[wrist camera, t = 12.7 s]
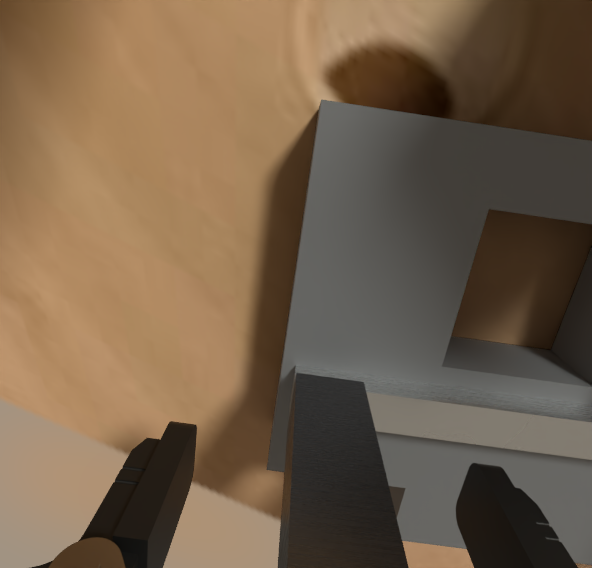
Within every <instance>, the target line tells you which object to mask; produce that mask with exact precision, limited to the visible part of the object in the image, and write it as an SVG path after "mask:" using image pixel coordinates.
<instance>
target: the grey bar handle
mask: <svg viewBox="0 0 592 568" xmlns="http://www.w3.org/2000/svg"><path fill="white" fill-rule="evenodd" d="M376 431H378V432H386V433H393V434H401V435H408V436H416V437H423V438H431V439H438V440H446V441H453V442H461V443H468V444H476V445H483V446H491V447H498V448H506V449H513V450H521V451H528V452H536V453H543V454H551V455H558V456H566V457H573V458H581V459H588V460H592V405H587V404H579V403H572V402H565V401H557V400H550V399H543V398H535V397H528V396H521V395H513V394H506V393H499V392H491V391H484V390H476V389H469V388H462V387H454V386H447V385H440V384H432V383H425V382H418V381H410V380H403V379H396V378H388V377H381V376H374V375H366V374H359V373H351V372H344V371H337V370H329V369H322V368H315V367H307V366H300V365H296V366H295V372H294V379H293V385H292V391H291V398H290V410H289V422H288V428H287V442H286V456H285V470H284V485H283V499H282V514H281V528H280V542H279V557H278V568H408V564H407V559H406V555H405V551H404V547H403V543H402V539H401V534H400V530H399V526H398V522H397V518H396V514H395V510H394V505H393V501H392V497H391V493H390V489H389V485H388V480H387V476H386V472H385V468H384V464H383V460H382V455H381V451H380V447H379V443H378V439H377V435H376Z"/></svg>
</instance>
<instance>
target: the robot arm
mask: <svg viewBox="0 0 592 568" xmlns="http://www.w3.org/2000/svg"><path fill="white" fill-rule="evenodd" d="M196 433H197V426H196V425H194V424H187V423H179V422H172V421H171V422H169V424H168V426H167V428H166V430H165V432H164V434H163V436H162V438H161V440H159V439H152V438H146V439H145V440H144V441H143V442H142V443H140V444H139V445H138V446H137V447H135V448H134V449H133V450H132V451H131V453H130V455H129V456H128V458H127V460H126V462H125V463H124V465H123V468H122V469H121V470H120V472H119V474H118V476H117V477H116V479H115V482H114V483H113V484H112V486H111V488H110V489H109V491H108V493H107V495H106V497H105V498H104V500H103V502H102V503H101V505H100V507H99V509H98V510H97V512H96V514H95V516H94V518H93V519H92V521H91V522H90V524H89V526H88V528H87V529H86V531H85V533H84V535H83V536H82V537H81V539H80V540H79V541H78V542H76V543H74V544H72V545H70V546H69V547H67V548H66V549H64V550H63V551H62V552H61V553H60V554H59V555H58V556H57V557H56V558H55V559H54V560H53V561H51V562H49V563H46V564H43V565H40V566H36V567H32V568H163V565H164V562H165V559H166V556H167V553H168V551H169V548H170V545H171V542H172V539H173V536H174V533H175V530H176V527H177V524H178V521H179V518H180V515H181V513H182V510H183V507H184V504H185V501H186V498H187V495H188V492H189V489H190V485H191V481H192V477H193V471H194V461H195V447H196ZM456 520H457V525H458V528H459V530H460V533H461V535H462V538H463V540H464V543H465V545H466V548H467V550H468V553H469V555H470V558H471V561H472V563H473V566H474V568H578V567H577V565H576V564H575V562H574V561H573V559H572V558H571V556H570V554H569V553H568V551H567V550H566V548H565V547H564V545H563V544H562V542H559V537H558V536H557V534H556V533H555V531H554V530H553V528H552V527H550V526H549V522H548V520H547V519H546V517H545V516H544V514H543V512H542V511H541V509H540V508H539V506H538V505H537V504H536V503H535V502H534V501H533V500H532V499H531V498H530V497H529V496H528V495H527V494H526V493H525V492H524V491H523V490H522V489H521V488H515V487H514V485H513V483H512V482H511V480H510V479H509V477H508V475H507V474H506V472H505V471H504V469H503V468H502V467H500V466H494V465H487V464H479V463H472V464H471V465H470V467H469V469H468V472H467V475H466V477H465V480H464V483H463V486H462V489H461V491H460V494H459V497H458V500H457V503H456Z"/></svg>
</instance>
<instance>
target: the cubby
mask: <svg viewBox="0 0 592 568" xmlns="http://www.w3.org/2000/svg"><path fill="white" fill-rule="evenodd" d="M489 209H492V210H498V211H505V212H512V213H519V214H526V215H532V216H539V217H546V218H553V219H559V220H566V221H573V222H580V223H587V224H592V141H590V140H583V139H577V138H570V137H564V136H557V135H550V134H544V133H537V132H531V131H524V130H518V129H511V128H504V127H498V126H491V125H485V124H478V123H472V122H465V121H458V120H452V119H445V118H439V117H432V116H426V115H419V114H412V113H406V112H399V111H393V110H386V109H379V108H373V107H366V106H360V105H353V104H347V103H340V102H333V101H327V100H321V103H320V106H319V110H318V117H317V124H316V131H315V137H314V144H313V151H312V158H311V165H310V172H309V178H308V185H307V192H306V199H305V206H304V212H303V219H302V226H301V233H300V240H299V246H298V253H297V260H296V267H295V274H294V281H293V287H292V294H291V301H290V308H289V315H288V321H287V328H286V335H285V342H284V349H283V355H282V362H281V369H280V376H279V383H278V389H277V396H276V403H275V410H274V417H273V424H272V432H271V440H270V448H269V456H268V464H267V470H272V471H279V472H284V470H285V456H286V442H287V428H288V422H289V410H290V398H291V391H292V385H293V379H294V372H295V366H296V365H300V366H307V367H315V368H322V369H329V370H337V371H344V372H351V373H359V374H366V375H374V376H381V377H388V378H396V379H403V380H410V381H418V382H425V383H432V384H440V385H447V386H454V387H462V388H469V389H476V390H484V391H491V392H499V393H506V394H513V395H521V396H528V397H535V398H543V399H550V400H557V401H565V402H572V403H579V404H587V405H592V247H591V249H590V252H589V255H588V257H587V260H586V262H585V265H584V267H583V270H582V272H581V275H580V277H579V280H578V282H577V285H576V288H575V290H574V293H573V295H572V298H571V300H570V303H569V305H568V308H567V310H566V313H565V315H564V318H563V320H562V323H561V326H560V328H559V331H558V333H557V336H556V338H555V341H554V343H553V346H552V348H551V350H546V349H539V348H532V347H525V346H518V345H510V344H503V343H496V342H489V341H482V340H475V339H468V338H461V337H453V336H451V334H452V331H453V328H454V324H455V321H456V318H457V314H458V311H459V308H460V304H461V301H462V297H463V294H464V291H465V287H466V284H467V281H468V277H469V274H470V271H471V267H472V264H473V261H474V257H475V254H476V251H477V247H478V244H479V240H480V237H481V234H482V230H483V227H484V224H485V220H486V217H487V214H488V210H489ZM376 435H377V439H378V443H379V447H380V451H381V455H382V460H383V464H384V468H385V472H386V476H387V480H388V485H389V489H390V493H391V497H392V501H393V505H394V510H395V514H396V518H397V522H398V526H399V530H400V534H401V539H402V541H409V542H417V543H425V544H432V545H440V546H448V547H456V548H463V549H467V548H466V545H465V543H464V540H463V538H462V535H461V533H460V530H459V528H458V525H457V520H456V503H457V500H458V497H459V494H460V491H461V489H462V486H463V483H464V480H465V477H466V475H467V472H468V469H469V467H470V465H471V464H472V463H479V464H487V465H494V466H500V467H502V468H503V469H504V471H505V472H506V474H507V475H508V477H509V479H510V480H511V482H512V483H513V485H514V487H515V488H521V489H522V490H523V491H524V492H525V493H526V494H527V495H528V496H529V497H530V498H531V499H532V500H533V501H534V502H535V503H536V504H537V505H538V506H539V508H540V509H541V511H542V512H543V514H544V516H545V517H546V519H547V520H548V522H549V526H550V527H552V528H553V530H554V531H555V533H556V534H557V536H558V537H559V542H562V544H563V545H564V547H565V548H566V550H567V551H568V553H569V554H570V556H571V558H572V559H573V561H574V562H575V563H580V564H587V565H592V460H588V459H581V458H573V457H566V456H558V455H551V454H543V453H536V452H528V451H521V450H513V449H506V448H498V447H491V446H483V445H476V444H468V443H461V442H453V441H446V440H438V439H431V438H423V437H416V436H408V435H401V434H393V433H386V432H378V431H376Z"/></svg>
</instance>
